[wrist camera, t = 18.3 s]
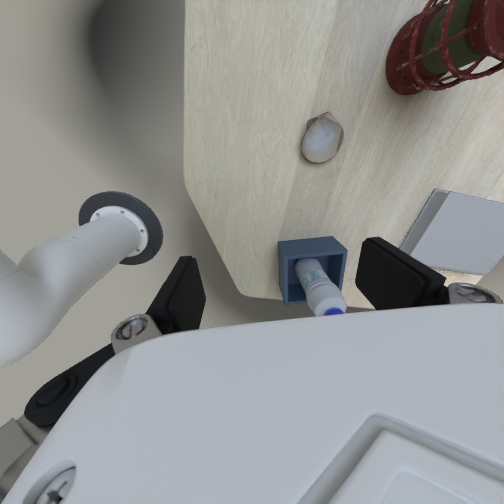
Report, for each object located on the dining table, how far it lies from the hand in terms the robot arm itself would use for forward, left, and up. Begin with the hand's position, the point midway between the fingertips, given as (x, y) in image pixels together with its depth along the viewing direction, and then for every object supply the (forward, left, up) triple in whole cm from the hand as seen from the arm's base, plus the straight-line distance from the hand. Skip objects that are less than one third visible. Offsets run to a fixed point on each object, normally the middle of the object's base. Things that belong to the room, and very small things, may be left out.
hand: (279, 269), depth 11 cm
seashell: (+14, +7, -34) cm, 38 cm away
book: (+50, -17, -34) cm, 63 cm away
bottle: (+12, -21, -34) cm, 41 cm away
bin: (+12, -21, -34) cm, 42 cm away
